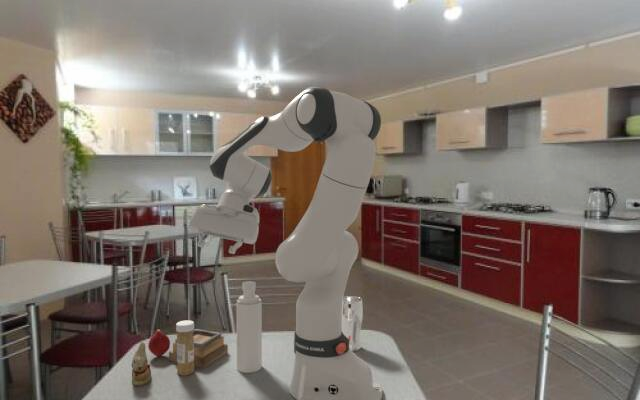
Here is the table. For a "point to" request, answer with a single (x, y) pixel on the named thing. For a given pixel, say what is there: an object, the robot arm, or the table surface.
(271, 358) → the table surface
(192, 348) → the sprinkles bottle
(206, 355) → the brown wooden square tray
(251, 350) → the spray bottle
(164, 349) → the onion
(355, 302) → the beer glass
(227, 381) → the table surface
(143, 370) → the chocolate bunny
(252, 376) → the table surface
